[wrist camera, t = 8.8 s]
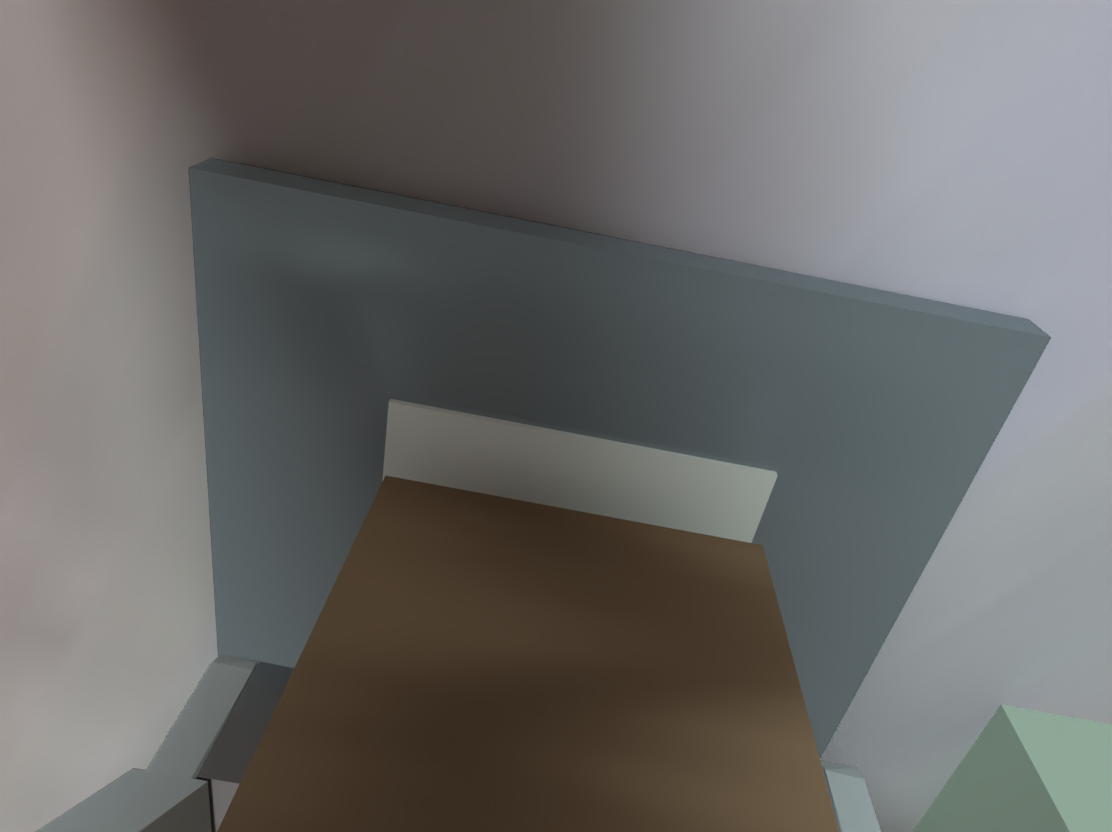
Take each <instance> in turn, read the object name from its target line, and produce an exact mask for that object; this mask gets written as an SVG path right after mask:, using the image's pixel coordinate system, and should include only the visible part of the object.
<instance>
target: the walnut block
mask: <svg viewBox="0 0 1112 832" xmlns="http://www.w3.org/2000/svg"><path fill="white" fill-rule="evenodd" d="M217 832H839V829H838V825H837V821H836V818H835V814H834V810H833V806H832V803H831V799H830V795H829V791H828V788H827V784H826V780H825V776H824V773H823V769H822V765H821V761H820V758H819V754H818V750H817V746H816V743H815V739H814V735H813V731H812V728H811V724H810V720H809V717H808V713H807V709H806V705H805V702H804V698H803V694H802V690H801V687H800V683H799V679H798V675H797V672H796V668H795V664H794V660H793V657H792V653H791V649H790V645H789V642H788V638H787V634H786V630H785V627H784V623H783V619H782V615H781V612H780V608H779V604H778V601H777V597H776V593H775V589H774V586H773V582H772V578H771V574H770V571H769V567H768V563H767V559H766V556H765V552H764V548H763V545H759V544H754V543H748V542H743V541H738V540H732V539H727V538H721V537H716V536H711V535H705V534H700V533H694V532H689V531H684V530H678V529H673V528H667V527H662V526H656V525H651V524H646V523H640V522H635V521H629V520H624V519H619V518H613V517H608V516H602V515H597V514H592V513H586V512H581V511H575V510H570V509H565V508H559V507H554V506H548V505H543V504H537V503H532V502H527V501H521V500H516V499H510V498H505V497H500V496H494V495H489V494H483V493H478V492H473V491H467V490H462V489H456V488H451V487H446V486H440V485H435V484H429V483H424V482H418V481H413V480H408V479H402V478H397V477H391V476H385V478H384V480H383V482H382V484H381V486H380V488H379V490H378V492H377V495H376V497H375V499H374V501H373V503H372V505H371V507H370V509H369V511H368V514H367V516H366V518H365V520H364V522H363V524H362V526H361V528H360V531H359V533H358V535H357V537H356V539H355V541H354V543H353V545H352V547H351V550H350V552H349V554H348V556H347V558H346V560H345V562H344V564H343V566H342V569H341V571H340V573H339V575H338V577H337V579H336V581H335V583H334V586H333V588H332V590H331V592H330V594H329V596H328V598H327V600H326V602H325V605H324V607H323V609H322V611H321V613H320V615H319V617H318V619H317V621H316V624H315V626H314V628H313V630H312V632H311V634H310V636H309V638H308V640H307V643H306V645H305V647H304V649H303V651H302V653H301V655H300V657H299V660H298V662H297V664H296V666H295V668H294V670H293V672H292V674H291V676H290V679H289V681H288V683H287V685H286V687H285V689H284V691H283V693H282V695H281V698H280V700H279V702H278V704H277V706H276V708H275V710H274V712H273V714H272V717H271V719H270V721H269V723H268V725H267V727H266V729H265V731H264V734H263V736H262V738H261V740H260V742H259V744H258V746H257V748H256V750H255V753H254V755H253V757H252V759H251V761H250V763H249V765H248V767H247V769H246V772H245V774H244V776H243V778H242V780H241V782H240V784H239V786H238V789H237V791H236V793H235V795H234V797H233V799H232V801H231V803H230V805H229V808H228V810H227V812H226V814H225V816H224V818H223V820H222V822H221V824H220V827H219V829H218V831H217Z"/></svg>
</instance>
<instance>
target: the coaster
mask: <svg viewBox="0 0 1112 832" xmlns="http://www.w3.org/2000/svg"><path fill="white" fill-rule="evenodd" d="M189 184H190V200H191V217H192V233H193V250H194V266H195V283H196V299H197V316H198V333H199V349H200V366H201V382H202V399H203V415H204V432H205V448H206V465H207V482H208V498H209V515H210V531H211V548H212V564H213V581H214V597H215V614H216V631H217V647H218V656H219V655H221V654H224V655H229V656H234V657H240V658H245V659H250V660H256V661H261V662H266V663H271V664H276V665H281V666H286V667H291V668H295V666H296V664H297V662H298V660H299V657H300V655H301V653H302V651H303V649H304V647H305V645H306V643H307V640H308V638H309V636H310V634H311V632H312V630H313V628H314V626H315V624H316V621H317V619H318V617H319V615H320V613H321V611H322V609H323V607H324V605H325V602H326V600H327V598H328V596H329V594H330V592H331V590H332V588H333V586H334V583H335V581H336V579H337V577H338V575H339V573H340V571H341V569H342V566H343V564H344V562H345V560H346V558H347V556H348V554H349V552H350V550H351V547H352V545H353V543H354V541H355V539H356V537H357V535H358V533H359V531H360V528H361V526H362V524H363V522H364V520H365V518H366V516H367V514H368V511H369V509H370V507H371V505H372V503H373V501H374V499H375V497H376V495H377V492H378V490H379V488H380V486H381V484H382V482H383V480H384V478H385V476H391V477H397V478H402V479H408V480H413V481H418V482H424V483H429V484H435V485H440V486H446V487H451V488H456V489H462V490H467V491H473V492H478V493H483V494H489V495H494V496H500V497H505V498H510V499H516V500H521V501H527V502H532V503H537V504H543V505H548V506H554V507H559V508H565V509H570V510H575V511H581V512H586V513H592V514H597V515H602V516H608V517H613V518H619V519H624V520H629V521H635V522H640V523H646V524H651V525H656V526H662V527H667V528H673V529H678V530H684V531H689V532H694V533H700V534H705V535H711V536H716V537H721V538H727V539H732V540H738V541H743V542H748V543H754V544H759V545H763V548H764V552H765V556H766V559H767V563H768V567H769V571H770V574H771V578H772V582H773V586H774V589H775V593H776V597H777V601H778V604H779V608H780V612H781V615H782V619H783V623H784V627H785V630H786V634H787V638H788V642H789V645H790V649H791V653H792V657H793V660H794V664H795V668H796V672H797V675H798V679H799V683H800V687H801V690H802V694H803V698H804V702H805V705H806V709H807V713H808V717H809V720H810V724H811V728H812V731H813V735H814V739H815V743H816V746H817V750H818V754H819V758H821V756H822V754H823V752H824V751H825V749H826V747H827V745H828V743H829V741H830V740H831V738H832V736H833V734H834V732H835V730H836V729H837V727H838V725H839V723H840V721H841V720H842V718H843V716H844V714H845V712H846V710H847V709H848V707H849V705H850V703H851V701H852V699H853V698H854V696H855V694H856V692H857V690H858V689H859V687H860V685H861V683H862V681H863V679H864V678H865V676H866V674H867V672H868V670H869V669H870V667H871V665H872V663H873V661H874V659H875V658H876V656H877V654H878V652H879V650H880V648H881V647H882V645H883V643H884V641H885V639H886V638H887V636H888V634H889V632H890V630H891V628H892V627H893V625H894V623H895V621H896V619H897V617H898V616H899V614H900V612H901V610H902V608H903V607H904V605H905V603H906V601H907V599H908V597H909V596H910V594H911V592H912V590H913V588H914V586H915V585H916V583H917V581H918V579H919V577H920V576H921V574H922V572H923V570H924V568H925V566H926V565H927V563H928V561H929V559H930V557H931V556H932V554H933V552H934V550H935V548H936V546H937V545H938V543H939V541H940V539H941V537H942V535H943V534H944V532H945V530H946V528H947V526H948V525H949V523H950V521H951V519H952V517H953V515H954V514H955V512H956V510H957V508H958V506H959V504H960V503H961V501H962V499H963V497H964V495H965V494H966V492H967V490H968V488H969V486H970V484H971V483H972V481H973V479H974V477H975V475H976V473H977V472H978V470H979V468H980V466H981V464H982V463H983V461H984V459H985V457H986V455H987V453H988V452H989V450H990V448H991V446H992V444H993V442H994V441H995V439H996V437H997V435H998V433H999V432H1000V430H1001V428H1002V426H1003V424H1004V422H1005V421H1006V419H1007V417H1008V415H1009V413H1010V412H1011V410H1012V408H1013V406H1014V404H1015V402H1016V401H1017V399H1018V397H1019V395H1020V393H1021V391H1022V390H1023V388H1024V386H1025V384H1026V382H1027V381H1028V379H1029V377H1030V375H1031V373H1032V371H1033V370H1034V368H1035V366H1036V364H1037V362H1038V360H1039V359H1040V357H1041V355H1042V353H1043V351H1044V350H1045V348H1046V346H1047V344H1048V342H1049V340H1050V339H1051V337H1050V336H1049V335H1048V334H1047V333H1045V332H1044V331H1043V330H1042V329H1040V328H1039V327H1038V326H1037V325H1035V324H1034V323H1033V322H1032V321H1030V320H1029V319H1024V318H1019V317H1014V316H1009V315H1004V314H999V313H994V312H989V311H984V310H979V309H974V308H969V307H963V306H958V305H953V304H948V303H943V302H938V301H933V300H928V299H923V298H918V297H913V296H908V295H903V294H897V293H892V292H887V291H882V290H877V289H872V288H867V287H862V286H857V285H852V284H847V283H842V282H837V281H831V280H826V279H821V278H816V277H811V276H806V275H801V274H796V273H791V272H786V271H781V270H776V269H771V268H765V267H760V266H755V265H750V264H745V263H740V262H735V261H730V260H725V259H720V258H715V257H710V256H705V255H699V254H694V253H689V252H684V251H679V250H674V249H669V248H664V247H659V246H654V245H649V244H644V243H639V242H633V241H628V240H623V239H618V238H613V237H608V236H603V235H598V234H593V233H588V232H583V231H578V230H573V229H567V228H562V227H557V226H552V225H547V224H542V223H537V222H532V221H527V220H522V219H517V218H512V217H507V216H501V215H496V214H491V213H486V212H481V211H476V210H471V209H466V208H461V207H456V206H451V205H446V204H441V203H435V202H430V201H425V200H420V199H415V198H410V197H405V196H400V195H395V194H390V193H385V192H380V191H375V190H369V189H364V188H359V187H354V186H349V185H344V184H339V183H334V182H329V181H324V180H319V179H314V178H309V177H303V176H298V175H293V174H288V173H283V172H278V171H273V170H268V169H263V168H258V167H253V166H248V165H243V164H237V163H232V162H227V161H222V160H217V159H212V158H211V159H208V160H206V161H203V162H201V163H199V164H196V165H194V166H192V167H189Z"/></svg>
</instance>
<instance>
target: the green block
mask: <svg viewBox="0 0 1112 832" xmlns="http://www.w3.org/2000/svg"><path fill="white" fill-rule="evenodd" d="M913 832H1112V724H1106V723H1101V722H1095V721H1090V720H1084V719H1079V718H1073V717H1068V716H1062V715H1057V714H1051V713H1046V712H1040V711H1035V710H1029V709H1024V708H1018V707H1013V706H1007V705H1002V704H1001V705H1000V707H999V708H998V710H997V711H996V713H995V714H994V716H993V717H992V718H991V720H990V721H989V723H988V724H987V726H986V727H985V728H984V730H983V731H982V733H981V734H980V736H979V737H978V739H977V740H976V741H975V743H974V744H973V746H972V747H971V749H970V750H969V752H968V753H967V754H966V756H965V757H964V759H963V760H962V762H961V763H960V764H959V766H958V767H957V769H956V770H955V772H954V773H953V775H952V776H951V777H950V779H949V780H948V782H947V783H946V785H945V786H944V788H943V789H942V790H941V792H940V793H939V795H938V796H937V798H936V799H935V801H934V802H933V803H932V805H931V806H930V808H929V809H928V811H927V812H926V813H925V815H924V816H923V818H922V819H921V821H920V822H919V824H918V825H917V826H916V828H915V829H914V831H913Z"/></svg>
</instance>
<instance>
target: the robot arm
mask: <svg viewBox="0 0 1112 832" xmlns="http://www.w3.org/2000/svg"><path fill="white" fill-rule="evenodd" d="M293 670H294V668H291V667H286V666H281V665H276V664H271V663H266V662H261V661H256V660H250V659H245V658H240V657H234V656H229V655H224V654H221V655H219V656H218V657H217V658H216V659H215V660H214V661H213V662H212V663H211V664H210V665H209V667H208V668H207V670H206V672H205V673H204V675H203V677H202V678H201V680H200V682H199V683H198V685H197V687H196V688H195V690H194V692H193V693H192V695H191V696H190V698H189V700H188V701H187V703H186V705H185V706H184V708H183V710H182V711H181V713H180V715H179V716H178V718H177V720H176V721H175V723H174V725H173V726H172V728H171V730H170V731H169V733H168V735H167V736H166V738H165V740H164V741H163V743H162V745H161V746H160V748H159V749H158V751H157V753H156V754H155V756H154V758H153V759H152V761H151V763H150V764H149V766H148V768H147V769H146V770H144V769H136V768H133V769H131V770H130V771H128V772H127V773H125V774H124V775H122V776H121V777H119V778H117V779H116V780H114V781H113V782H111V783H110V784H108V785H107V786H105V787H104V788H102V789H100V790H99V791H97V792H96V793H94V794H93V795H91V796H90V797H88V798H87V799H85V800H83V801H82V802H80V803H79V804H77V805H76V806H74V807H73V808H71V809H70V810H68V811H66V812H65V813H63V814H62V815H60V816H59V817H57V818H56V819H54V820H53V821H51V822H50V823H48V824H46V825H45V826H43V827H42V828H40V829H39V830H37V831H36V832H217V831H218V829H219V827H220V824H221V822H222V820H223V818H224V816H225V814H226V812H227V810H228V808H229V805H230V803H231V801H232V799H233V797H234V795H235V793H236V791H237V789H238V786H239V784H240V782H241V780H242V778H243V776H244V774H245V772H246V769H247V767H248V765H249V763H250V761H251V759H252V757H253V755H254V753H255V750H256V748H257V746H258V744H259V742H260V740H261V738H262V736H263V734H264V731H265V729H266V727H267V725H268V723H269V721H270V719H271V717H272V714H273V712H274V710H275V708H276V706H277V704H278V702H279V700H280V698H281V695H282V693H283V691H284V689H285V687H286V685H287V683H288V681H289V679H290V676H291V674H292V672H293ZM821 765H822V769H823V773H824V776H825V780H826V784H827V788H828V791H829V795H830V799H831V803H832V806H833V810H834V814H835V818H836V821H837V825H838V829H839V832H881V829H880V826H879V823H878V819H877V816H876V813H875V810H874V807H873V804H872V801H871V798H870V795H869V792H868V789H867V786H866V782H865V779H864V776H863V775H862V773H861V772H860V771H859V770H858V768H857V767H852V766H847V765H841V764H836V763H830V762H824V761H821Z"/></svg>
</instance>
